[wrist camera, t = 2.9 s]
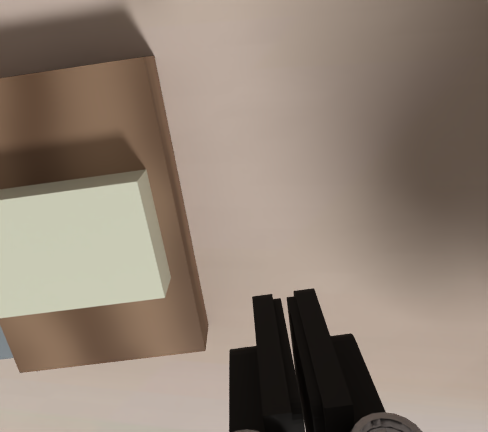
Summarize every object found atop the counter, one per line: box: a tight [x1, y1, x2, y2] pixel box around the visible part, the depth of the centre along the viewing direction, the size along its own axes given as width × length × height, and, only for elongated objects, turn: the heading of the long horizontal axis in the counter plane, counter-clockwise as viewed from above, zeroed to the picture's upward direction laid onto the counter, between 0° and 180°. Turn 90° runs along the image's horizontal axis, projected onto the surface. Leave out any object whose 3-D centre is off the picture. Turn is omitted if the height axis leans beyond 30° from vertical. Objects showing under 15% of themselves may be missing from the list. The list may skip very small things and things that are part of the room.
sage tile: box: [0, 169, 171, 318], centre depth 21 cm, size 9×6×2 cm, turn 98°
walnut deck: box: [0, 56, 208, 373], centre depth 23 cm, size 11×16×2 cm
